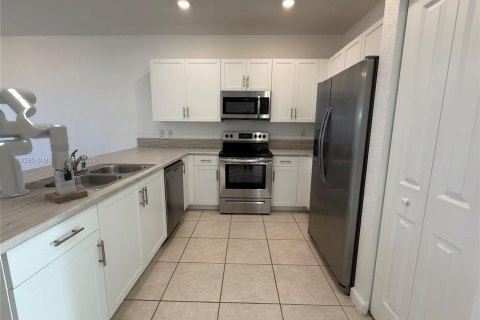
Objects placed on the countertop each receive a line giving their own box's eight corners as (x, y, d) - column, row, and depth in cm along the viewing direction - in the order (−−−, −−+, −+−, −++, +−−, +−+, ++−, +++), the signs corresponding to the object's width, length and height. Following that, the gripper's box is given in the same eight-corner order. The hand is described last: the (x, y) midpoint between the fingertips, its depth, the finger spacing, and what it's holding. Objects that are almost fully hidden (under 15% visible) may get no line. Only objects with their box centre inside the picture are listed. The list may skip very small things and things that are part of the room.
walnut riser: (46, 199, 119) (45, 194, 119) (75, 192, 132) (74, 187, 131) (58, 204, 113) (57, 198, 112) (87, 196, 125) (87, 191, 124)
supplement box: (56, 193, 121) (52, 170, 119) (72, 189, 127) (69, 168, 125) (60, 195, 116) (56, 172, 114) (76, 192, 122) (73, 169, 120)
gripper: (44, 147, 118) (48, 178, 121) (59, 150, 110) (63, 183, 113) (60, 146, 125) (64, 175, 128) (76, 148, 117) (79, 179, 120)
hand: (63, 179), depth 120 cm, fingers open, 9 cm apart
